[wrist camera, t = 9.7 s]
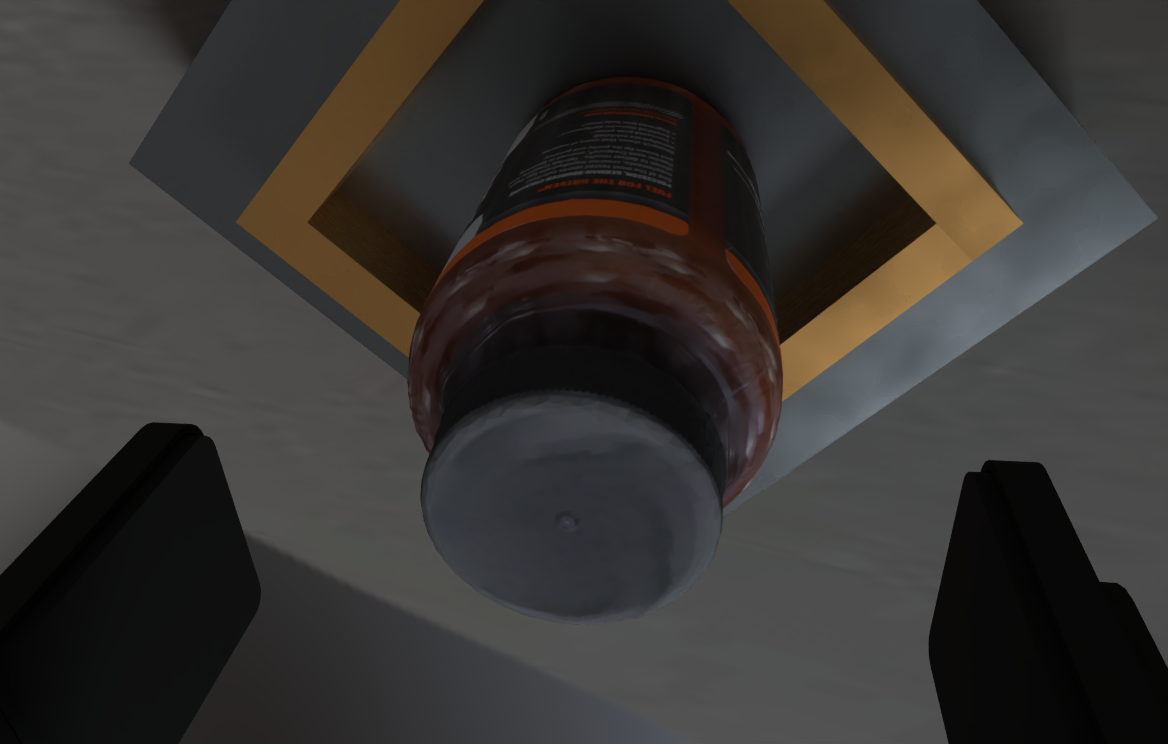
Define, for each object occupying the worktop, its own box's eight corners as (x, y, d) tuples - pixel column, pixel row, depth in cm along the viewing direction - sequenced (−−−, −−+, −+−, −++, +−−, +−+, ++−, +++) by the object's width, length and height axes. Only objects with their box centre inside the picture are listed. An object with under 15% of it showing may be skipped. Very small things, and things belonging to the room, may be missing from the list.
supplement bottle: (455, 149, 21) (243, 432, 11) (683, 15, 19) (659, 225, 9) (585, 347, 23) (500, 718, 14) (801, 248, 21) (877, 605, 12)
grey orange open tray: (1079, 146, 24) (1199, 256, 18) (658, 465, 31) (646, 617, 26) (438, -618, 18) (305, -828, 12) (100, 6, 25) (-86, 67, 19)
